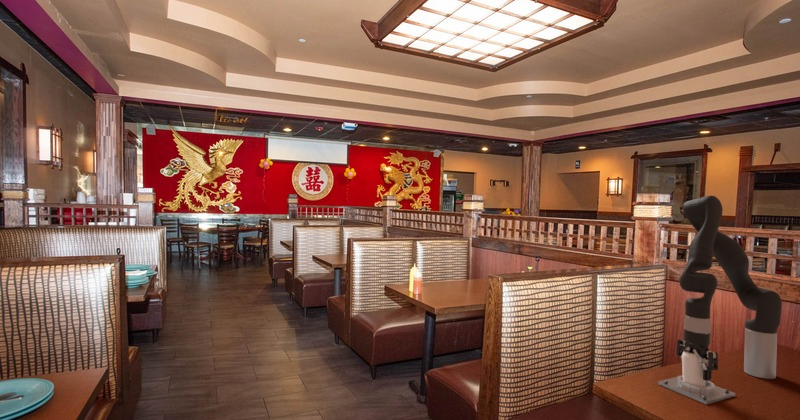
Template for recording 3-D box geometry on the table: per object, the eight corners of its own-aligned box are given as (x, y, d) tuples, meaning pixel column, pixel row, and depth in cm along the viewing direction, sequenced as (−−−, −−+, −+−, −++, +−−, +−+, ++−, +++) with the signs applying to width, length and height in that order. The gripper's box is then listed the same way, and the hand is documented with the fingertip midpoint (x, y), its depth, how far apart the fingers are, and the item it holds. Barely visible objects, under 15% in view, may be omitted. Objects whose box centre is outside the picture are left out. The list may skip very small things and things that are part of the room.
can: (704, 385, 142) (703, 350, 143) (706, 391, 137) (705, 355, 137) (682, 381, 145) (681, 348, 146) (683, 387, 140) (682, 352, 141)
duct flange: (685, 377, 152) (686, 369, 152) (735, 396, 137) (735, 387, 137) (658, 384, 145) (658, 376, 145) (706, 404, 131) (706, 395, 131)
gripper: (670, 323, 147) (669, 367, 148) (705, 336, 133) (704, 384, 133) (689, 322, 148) (687, 366, 149) (725, 335, 134) (724, 383, 135)
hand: (695, 375), depth 141 cm, fingers open, 8 cm apart
